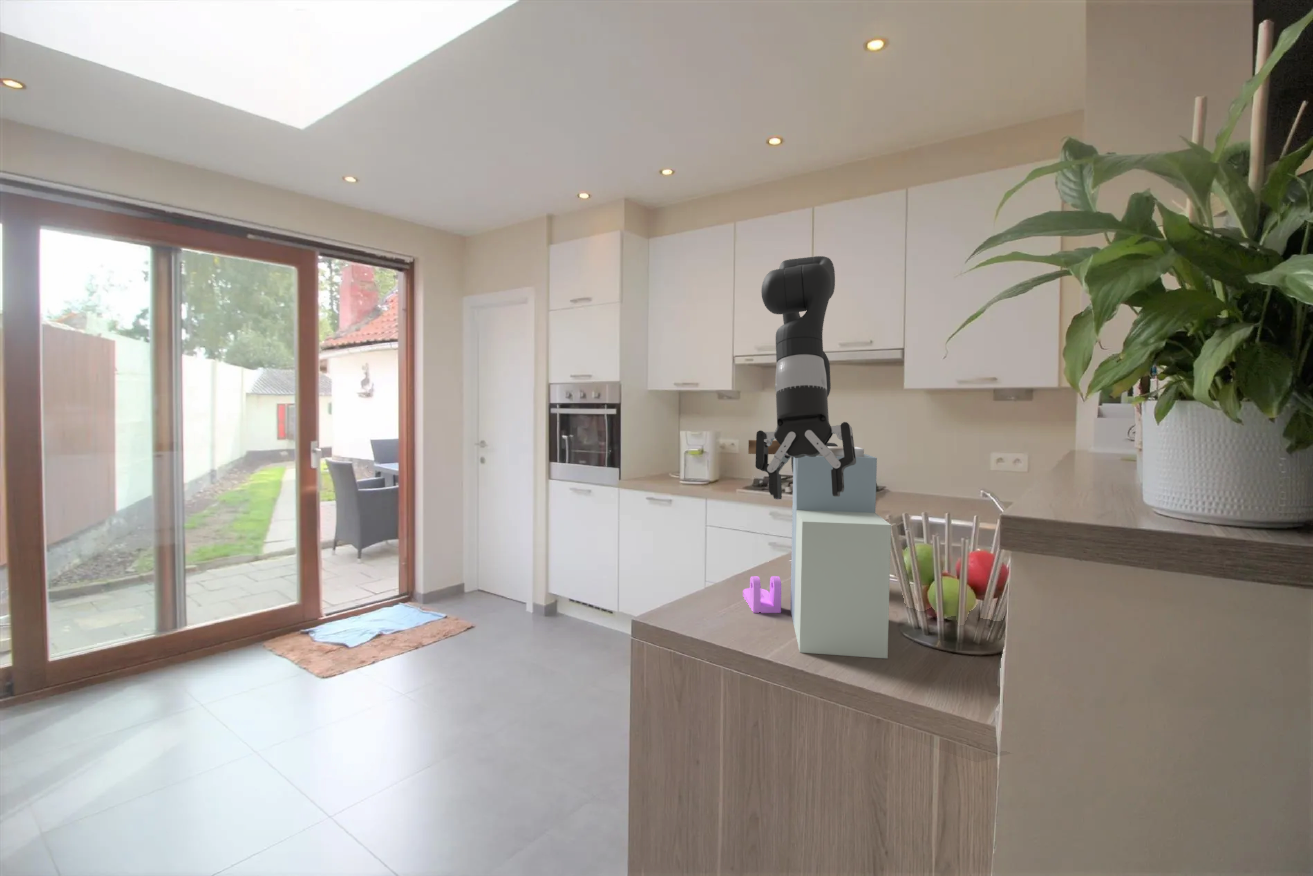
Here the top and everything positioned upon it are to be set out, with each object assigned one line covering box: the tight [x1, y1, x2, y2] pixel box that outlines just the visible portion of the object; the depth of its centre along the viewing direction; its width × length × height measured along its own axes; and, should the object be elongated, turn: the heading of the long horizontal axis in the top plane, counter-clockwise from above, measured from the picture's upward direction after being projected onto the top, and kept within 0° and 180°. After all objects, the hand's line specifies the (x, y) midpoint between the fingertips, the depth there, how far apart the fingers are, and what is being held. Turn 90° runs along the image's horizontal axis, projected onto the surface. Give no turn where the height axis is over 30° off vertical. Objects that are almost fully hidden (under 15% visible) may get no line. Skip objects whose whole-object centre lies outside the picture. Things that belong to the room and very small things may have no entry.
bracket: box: [742, 575, 782, 614], centre depth 125 cm, size 13×6×7 cm, turn 3°
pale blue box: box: [789, 453, 892, 659], centre depth 108 cm, size 14×22×32 cm, turn 171°
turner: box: [747, 439, 865, 457], centre depth 114 cm, size 21×7×3 cm, turn 81°
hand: (806, 497), depth 87 cm, fingers open, 8 cm apart
